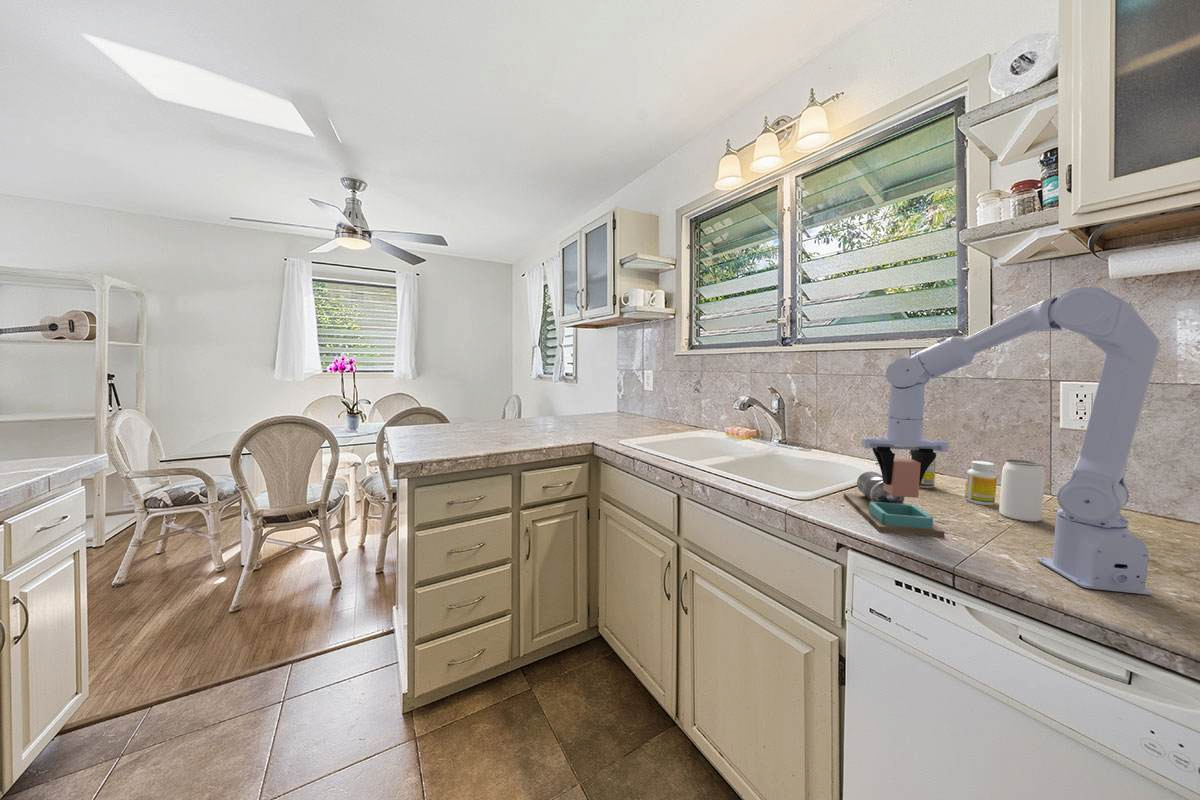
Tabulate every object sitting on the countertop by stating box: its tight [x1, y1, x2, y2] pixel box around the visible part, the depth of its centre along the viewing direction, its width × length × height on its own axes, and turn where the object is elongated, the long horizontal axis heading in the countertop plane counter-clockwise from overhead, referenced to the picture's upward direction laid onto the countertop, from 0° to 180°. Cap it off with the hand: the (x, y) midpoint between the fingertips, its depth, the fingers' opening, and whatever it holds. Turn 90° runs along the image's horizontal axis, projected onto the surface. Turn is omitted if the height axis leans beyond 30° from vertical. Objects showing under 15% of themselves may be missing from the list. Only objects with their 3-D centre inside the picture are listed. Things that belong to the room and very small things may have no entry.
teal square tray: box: [869, 501, 934, 529], centre depth 87 cm, size 9×9×2 cm
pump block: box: [884, 456, 921, 499], centre depth 86 cm, size 4×4×7 cm
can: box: [998, 459, 1046, 523], centre depth 91 cm, size 6×6×12 cm
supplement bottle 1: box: [909, 455, 937, 489], centre depth 114 cm, size 6×6×10 cm
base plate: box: [843, 492, 946, 538], centre depth 93 cm, size 22×11×1 cm, turn 166°
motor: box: [856, 471, 906, 504], centre depth 97 cm, size 12×6×6 cm, turn 166°
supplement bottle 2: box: [964, 460, 998, 506], centre depth 101 cm, size 5×5×10 cm
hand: (901, 484), depth 86 cm, fingers closed on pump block, 4 cm apart
